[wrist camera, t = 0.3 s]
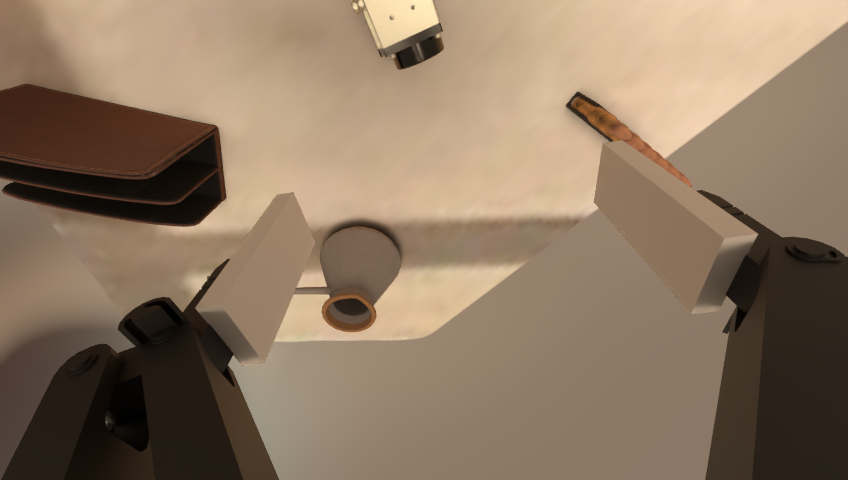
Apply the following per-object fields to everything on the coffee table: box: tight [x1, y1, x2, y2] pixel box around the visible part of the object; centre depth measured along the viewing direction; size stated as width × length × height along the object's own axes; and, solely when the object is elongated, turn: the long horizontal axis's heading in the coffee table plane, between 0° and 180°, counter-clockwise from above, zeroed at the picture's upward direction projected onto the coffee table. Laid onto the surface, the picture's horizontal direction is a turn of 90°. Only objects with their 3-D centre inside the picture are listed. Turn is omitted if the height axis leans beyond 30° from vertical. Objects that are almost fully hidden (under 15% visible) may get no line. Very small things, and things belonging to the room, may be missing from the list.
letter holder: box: [0, 84, 226, 227], centre depth 35 cm, size 10×20×14 cm, turn 76°
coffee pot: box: [207, 227, 401, 332], centre depth 43 cm, size 21×12×15 cm, turn 67°
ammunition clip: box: [566, 92, 692, 188], centre depth 35 cm, size 11×2×12 cm, turn 57°
